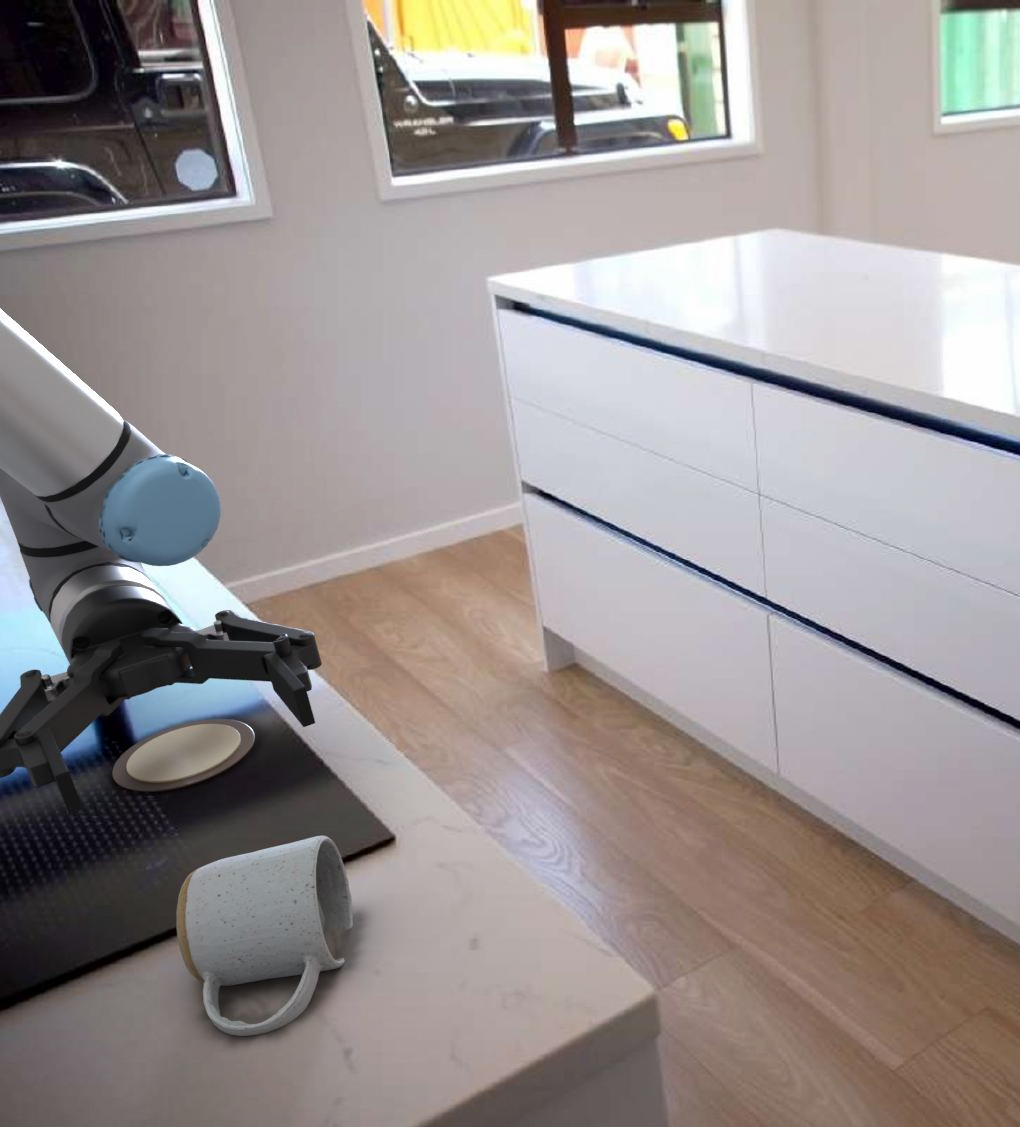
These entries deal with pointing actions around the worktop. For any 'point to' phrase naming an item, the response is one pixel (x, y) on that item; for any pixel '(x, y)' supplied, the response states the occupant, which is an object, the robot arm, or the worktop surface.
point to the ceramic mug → (264, 923)
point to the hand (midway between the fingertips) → (192, 748)
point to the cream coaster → (183, 755)
